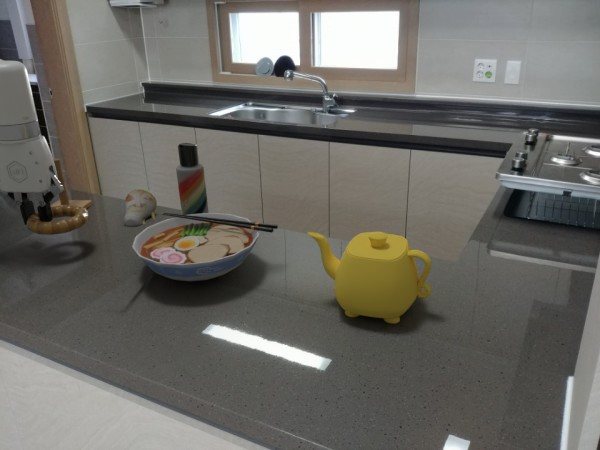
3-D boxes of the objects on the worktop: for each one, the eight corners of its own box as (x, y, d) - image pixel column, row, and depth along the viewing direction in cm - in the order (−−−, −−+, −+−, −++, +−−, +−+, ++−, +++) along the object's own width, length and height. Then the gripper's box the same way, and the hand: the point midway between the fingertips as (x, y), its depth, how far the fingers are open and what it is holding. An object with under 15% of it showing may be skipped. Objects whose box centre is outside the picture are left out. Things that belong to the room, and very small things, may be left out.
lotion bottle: (179, 232, 118) (167, 143, 110) (200, 225, 121) (190, 138, 114) (194, 239, 114) (182, 148, 106) (215, 231, 118) (206, 142, 110)
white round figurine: (116, 234, 119) (109, 190, 120) (139, 235, 128) (132, 195, 129) (146, 226, 117) (138, 182, 118) (167, 228, 127) (160, 188, 128)
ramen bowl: (106, 287, 96) (98, 246, 93) (183, 238, 115) (178, 202, 112) (225, 316, 86) (220, 271, 83) (287, 256, 105) (285, 218, 102)
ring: (16, 235, 102) (13, 224, 101) (48, 213, 112) (45, 202, 111) (72, 237, 100) (69, 225, 99) (99, 214, 111) (97, 203, 110)
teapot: (424, 338, 79) (429, 260, 74) (296, 317, 85) (292, 244, 80) (435, 292, 90) (440, 222, 86) (322, 276, 97) (320, 211, 92)
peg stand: (39, 217, 129) (26, 164, 124) (59, 204, 138) (47, 154, 132) (74, 217, 128) (63, 164, 123) (92, 204, 137) (82, 154, 131)
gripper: (-37, 135, 96) (-12, 229, 104) (47, 136, 95) (68, 231, 102) (-11, 126, 103) (12, 214, 111) (69, 126, 102) (86, 216, 109)
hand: (38, 221), depth 106 cm, fingers closed on ring, 2 cm apart
